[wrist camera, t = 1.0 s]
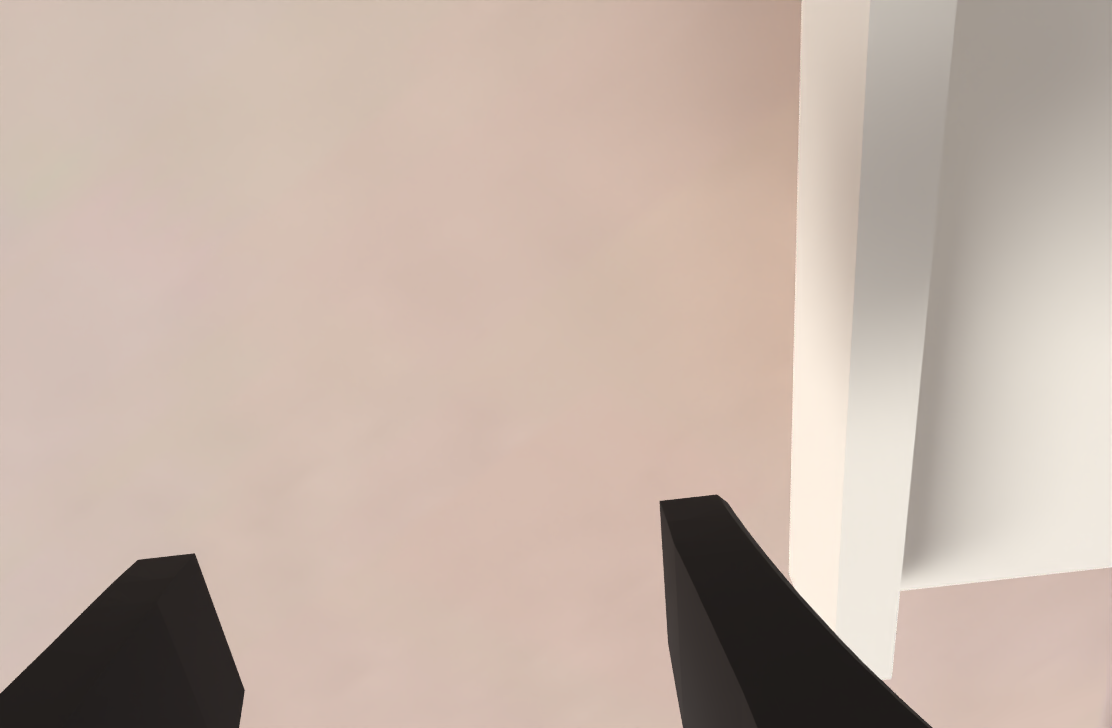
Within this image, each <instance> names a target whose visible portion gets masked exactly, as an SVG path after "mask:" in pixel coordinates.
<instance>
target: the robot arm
mask: <svg viewBox="0 0 1112 728" xmlns="http://www.w3.org/2000/svg"><path fill="white" fill-rule="evenodd" d="M660 516H661V532H662V549H663V566H664V582H665V599H666V616H667V632H668V645H669V651H670V656H671V662H672V668H673V674H674V680H675V685H676V691H677V697H678V702H679V708H680V713H681V719H682V724H683V728H932V727H931V726H930V725H929V724H928V723H927V722H926V721H924V720H923V719H922V718H921V717H920V716H919V715H918V714H917V713H916V712H915V711H914V710H912V709H911V708H910V707H909V706H908V705H907V704H906V703H905V702H904V701H903V700H902V699H900V698H899V697H898V696H897V695H896V694H895V693H894V692H893V691H892V690H891V689H890V688H889V687H888V686H887V685H886V684H885V683H884V682H883V681H882V680H881V679H880V678H879V677H878V676H877V675H876V674H875V673H874V672H873V671H872V670H871V669H870V668H869V667H868V666H866V665H865V664H864V663H863V662H862V661H861V659H860V658H859V657H858V656H857V655H856V654H855V653H854V652H853V651H852V650H851V649H850V648H849V647H848V646H847V645H846V644H845V643H844V642H843V641H842V640H841V639H840V638H839V637H838V636H837V635H836V634H835V632H834V631H833V630H832V629H831V628H830V627H829V626H828V625H827V624H826V623H825V622H824V620H823V619H822V618H821V617H820V616H819V615H818V614H817V613H816V612H815V611H814V610H813V608H812V607H811V606H810V605H809V604H808V603H807V602H806V601H805V600H804V599H803V598H802V596H801V595H800V594H799V593H798V592H797V591H796V590H795V588H794V587H793V586H792V585H791V584H790V583H789V581H788V580H787V579H786V578H785V577H784V576H783V574H782V573H781V572H780V571H779V569H778V568H777V567H776V566H775V565H774V563H773V562H772V561H771V560H770V559H769V557H768V556H767V555H766V554H765V552H764V551H763V550H762V549H761V547H760V546H759V545H758V544H757V542H756V541H755V540H754V538H753V537H752V536H751V535H750V533H749V532H748V531H747V529H746V528H745V527H744V525H743V524H742V522H741V521H740V520H739V518H738V517H737V516H736V514H735V513H734V511H733V510H732V508H731V507H730V506H729V504H728V503H727V502H726V501H725V500H723V499H722V498H721V497H720V496H718V495H709V496H700V497H691V498H682V499H674V500H665V501H660ZM244 691H245V690H244V687H243V685H242V682H241V679H240V676H239V674H238V671H237V668H236V665H235V663H234V660H233V657H232V654H231V652H230V649H229V646H228V643H227V641H226V638H225V635H224V632H223V630H222V627H221V624H220V621H219V619H218V616H217V613H216V610H215V608H214V605H213V602H212V599H211V597H210V594H209V591H208V588H207V586H206V583H205V580H204V577H203V575H202V572H201V569H200V566H199V564H198V561H197V558H196V555H195V554H186V555H177V556H168V557H159V558H150V559H141V560H137V561H136V562H135V563H134V564H133V565H132V566H131V567H130V568H128V569H127V570H126V571H125V572H124V573H123V574H122V575H121V576H120V577H119V578H118V579H116V580H115V581H114V582H113V583H112V584H111V585H110V586H109V587H108V588H107V589H106V590H105V591H104V592H103V593H102V594H101V595H100V596H99V597H98V598H97V599H96V600H95V601H94V602H93V603H92V604H91V605H90V606H89V607H88V608H87V609H86V610H85V611H84V612H83V613H82V614H81V615H80V616H79V617H78V618H77V619H76V620H75V621H74V622H73V623H72V624H71V625H70V626H69V627H68V628H67V629H66V630H65V631H64V632H63V633H62V634H61V635H60V636H59V637H58V638H57V639H56V640H55V641H54V642H53V643H52V644H51V645H50V646H49V647H48V648H47V649H46V650H45V651H44V652H42V653H41V654H40V655H39V656H38V657H37V658H36V659H35V660H34V661H33V662H32V663H31V664H30V665H29V666H28V667H27V668H26V669H25V670H24V671H23V672H22V673H21V674H20V675H19V676H18V677H17V678H16V679H15V680H14V681H13V682H12V683H11V684H10V685H9V686H8V687H7V688H6V689H5V690H4V691H3V692H2V693H1V694H0V728H239V724H240V718H241V711H242V705H243V698H244Z"/></svg>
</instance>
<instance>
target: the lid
mask: <svg viewBox="0 0 1112 728" xmlns="http://www.w3.org/2000/svg"><path fill="white" fill-rule="evenodd" d="M1110 567H1112V0H802V5H801V50H800V95H799V140H798V185H797V229H796V274H795V319H794V364H793V409H792V454H791V499H790V544H789V575H790V578H791V580H792V583H793V585H794V588H795V590H796V591H797V592H798V593H799V594H800V595H801V596H802V598H803V599H804V600H805V601H806V602H807V603H808V604H809V605H810V606H811V607H812V608H813V610H814V611H815V612H816V613H817V614H818V615H819V616H820V617H821V618H822V619H823V620H824V622H825V623H826V624H827V625H828V626H829V627H830V628H831V629H832V630H833V631H834V632H835V634H836V635H837V636H838V637H839V638H840V639H841V640H842V641H843V642H844V643H845V644H846V645H847V646H848V647H849V648H850V649H851V650H852V651H853V652H854V653H855V654H856V655H857V656H858V657H859V658H860V659H861V661H862V662H863V663H864V664H865V665H866V666H868V667H869V668H870V669H871V670H872V671H873V672H874V673H875V674H876V675H877V676H878V677H879V678H880V679H881V680H885V679H892V670H893V659H894V649H895V639H896V628H897V618H898V608H899V597H900V591H905V590H914V589H923V588H932V587H940V586H949V585H958V584H967V583H976V582H985V581H994V580H1003V579H1012V578H1021V577H1030V576H1038V575H1047V574H1056V573H1065V572H1074V571H1083V570H1092V569H1101V568H1110Z"/></svg>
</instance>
